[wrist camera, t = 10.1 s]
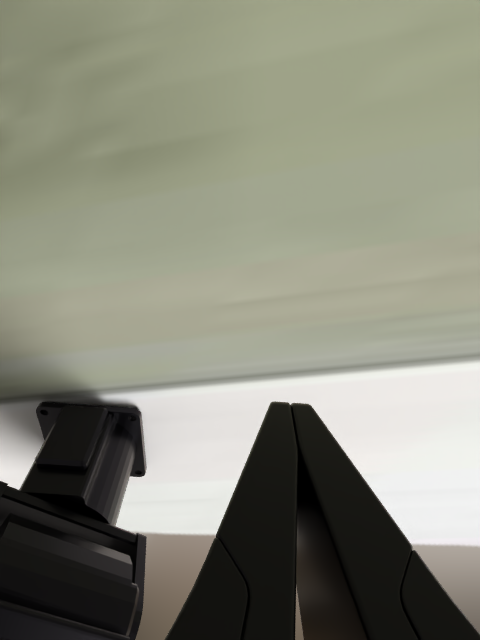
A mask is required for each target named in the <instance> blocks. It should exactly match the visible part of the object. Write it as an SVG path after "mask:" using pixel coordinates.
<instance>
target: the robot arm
mask: <svg viewBox="0 0 480 640" xmlns="http://www.w3.org/2000/svg"><path fill="white" fill-rule="evenodd" d="M36 413H37V416H38V420H39V423H40V426H41V430H42V433H43V436H44V440H45V441H44V443H43V445H42V447H41V449H40V451H39V453H38V455H37V456H36V458H35V461H34V463H33V465H32V467H31V469H30V471H29V473H28V474H27V476H26V478H25V480H24V482H23V484H22V486H21V488H20V490H17V489H15V488H12V487H9V486H7V485H8V484H7V483H4V482H2V481H0V640H135V638H136V635H137V632H138V628H139V625H140V620H141V615H142V609H143V596H144V576H145V555H146V536H144V535H142V534H139V533H137V534H134V533H131V532H129V531H126V530H123V529H121V528H118V527H115V525H116V522H117V518H118V515H119V512H120V508H121V505H122V501H123V498H124V494H125V491H126V487H127V484H128V480H129V477H130V476H133V477H142V476H144V475H145V472H146V457H145V446H144V436H143V425H142V415H141V412H140V411H139V410H137V409H135V408H123V407H109V406H94V405H79V404H65V403H50V402H42V403H40V404H39V406H38V408H37V409H36ZM296 585H297V593H298V599H299V607H300V615H301V622H302V629H303V637H304V640H480V633H479V632H478V631H477V630H476V628H475V627H474V626H473V625H472V624H471V623H470V621H469V620H468V619H467V617H466V616H465V615H464V614H463V613H462V611H460V609H459V608H458V607H457V605H456V604H455V603H454V602H453V600H452V599H451V598H450V596H449V595H448V594H447V592H446V591H445V590H444V588H443V587H442V586H441V584H440V583H439V582H438V580H437V579H436V578H435V576H434V575H433V574H432V573H431V571H430V570H429V569H428V567H427V566H426V564H425V563H424V561H423V560H422V559H421V557H420V556H419V555H418V553H417V552H416V551H415V550H412V545H411V544H410V542H409V541H408V539H407V538H406V537H405V535H404V534H403V532H402V531H401V530H400V528H399V527H398V525H397V524H396V523H395V521H394V520H393V519H392V517H391V516H390V514H389V513H388V512H387V510H386V509H385V507H384V506H383V505H382V503H381V502H380V501H379V499H378V498H377V496H376V495H375V494H374V492H373V491H372V489H371V488H370V487H369V485H368V484H367V482H366V481H365V480H364V478H363V477H362V476H361V474H360V473H359V471H358V470H357V469H356V467H355V466H354V464H353V463H352V462H351V460H350V459H349V458H348V456H347V455H346V453H345V452H344V451H343V449H342V448H341V446H340V445H339V444H338V442H337V441H336V439H335V438H334V437H333V435H332V434H331V433H330V431H329V430H328V428H327V427H326V426H325V424H324V423H323V421H322V420H321V419H320V417H319V416H318V415H317V413H316V412H315V410H314V409H313V408H312V406H311V405H309V404H302V403H292V404H291V405H290V404H289V403H287V402H271V404H270V406H269V408H268V411H267V413H266V415H265V418H264V420H263V423H262V425H261V427H260V430H259V432H258V435H257V437H256V440H255V442H254V444H253V447H252V449H251V452H250V454H249V456H248V459H247V461H246V464H245V466H244V469H243V471H242V473H241V476H240V478H239V481H238V483H237V486H236V488H235V490H234V493H233V495H232V498H231V500H230V502H229V505H228V507H227V510H226V512H225V515H224V517H223V519H222V522H221V524H220V527H219V529H218V532H217V534H216V538H215V539H214V541H213V543H212V546H211V548H210V550H209V553H208V555H207V558H206V560H205V562H204V564H203V566H202V569H201V571H200V573H199V575H198V577H197V580H196V582H195V584H194V586H193V588H192V590H191V592H190V594H189V596H188V598H187V600H186V602H185V604H184V605H183V607H182V609H181V611H180V613H179V615H178V617H177V619H176V621H175V622H174V624H173V626H172V628H171V629H170V631H169V633H168V635H167V637H166V638H165V640H295V611H296V610H295V609H296Z"/></svg>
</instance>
